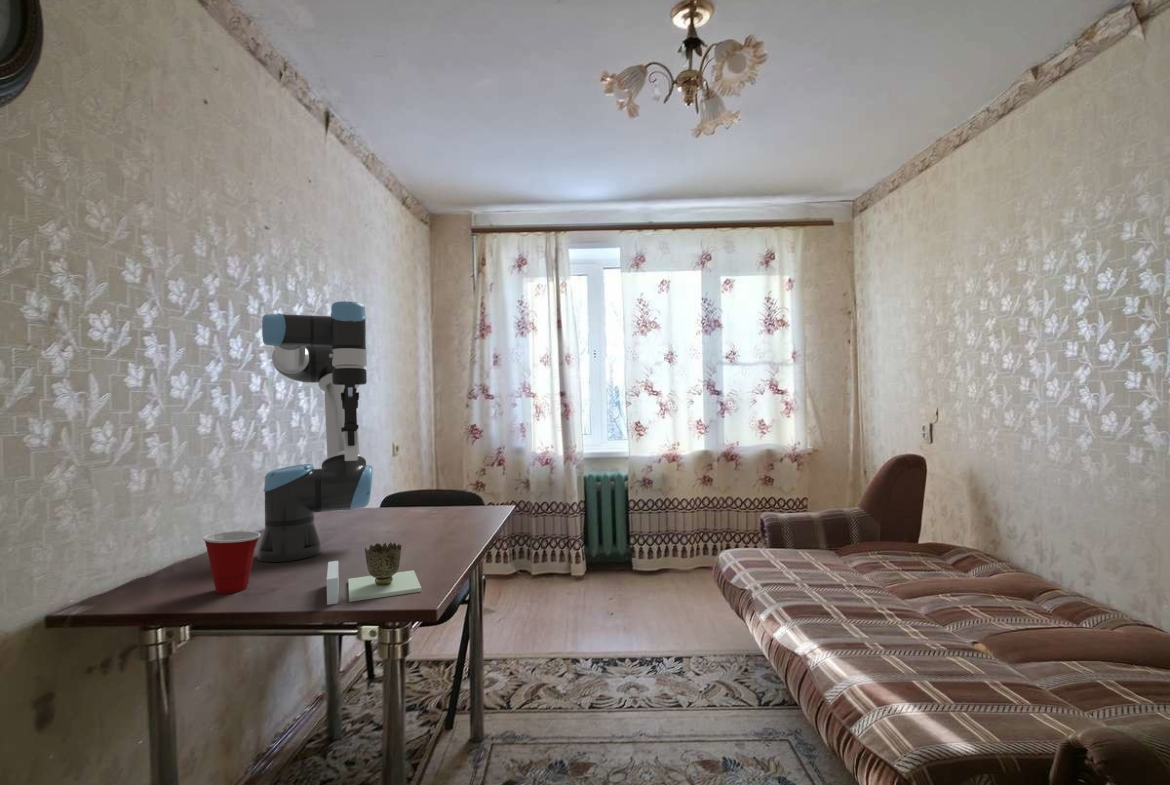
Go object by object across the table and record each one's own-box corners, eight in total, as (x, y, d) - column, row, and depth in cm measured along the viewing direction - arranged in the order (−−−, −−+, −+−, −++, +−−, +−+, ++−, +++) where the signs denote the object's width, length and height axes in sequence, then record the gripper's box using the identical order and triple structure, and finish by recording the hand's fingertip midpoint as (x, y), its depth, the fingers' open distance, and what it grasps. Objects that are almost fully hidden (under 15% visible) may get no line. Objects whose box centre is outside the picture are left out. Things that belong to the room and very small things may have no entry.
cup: (390, 590, 121) (389, 551, 121) (358, 588, 122) (357, 550, 122) (408, 579, 128) (407, 542, 128) (377, 577, 129) (377, 541, 130)
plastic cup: (262, 591, 124) (261, 535, 124) (201, 601, 119) (200, 542, 119) (261, 578, 133) (261, 526, 134) (205, 587, 128) (204, 532, 128)
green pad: (348, 582, 129) (348, 578, 129) (414, 573, 135) (413, 570, 135) (349, 601, 116) (348, 597, 116) (421, 591, 122) (421, 587, 122)
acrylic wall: (328, 584, 128) (328, 561, 128) (338, 583, 129) (338, 560, 129) (327, 604, 115) (326, 579, 115) (338, 603, 116) (337, 577, 116)
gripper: (332, 370, 148) (334, 454, 148) (331, 364, 125) (332, 463, 125) (364, 370, 151) (366, 453, 150) (368, 364, 128) (370, 461, 127)
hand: (350, 458), depth 138 cm, fingers open, 13 cm apart
